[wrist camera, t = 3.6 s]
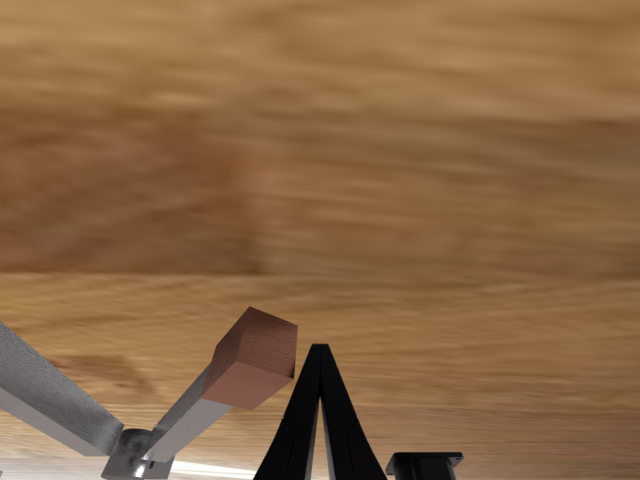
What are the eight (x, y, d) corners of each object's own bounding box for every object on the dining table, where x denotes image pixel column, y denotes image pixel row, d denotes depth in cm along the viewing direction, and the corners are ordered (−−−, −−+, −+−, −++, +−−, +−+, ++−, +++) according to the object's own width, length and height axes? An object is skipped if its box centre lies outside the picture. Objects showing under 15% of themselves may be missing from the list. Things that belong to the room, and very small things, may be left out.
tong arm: (167, 445, 25) (153, 486, 23) (118, 436, 23) (97, 479, 21) (297, 325, 14) (293, 384, 11) (218, 293, 12) (195, 353, 10)
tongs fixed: (175, 455, 27) (163, 491, 25) (137, 455, 27) (122, 491, 25) (-54, 244, 10) (-144, 299, 8) (-149, 244, 10) (-262, 299, 8)
